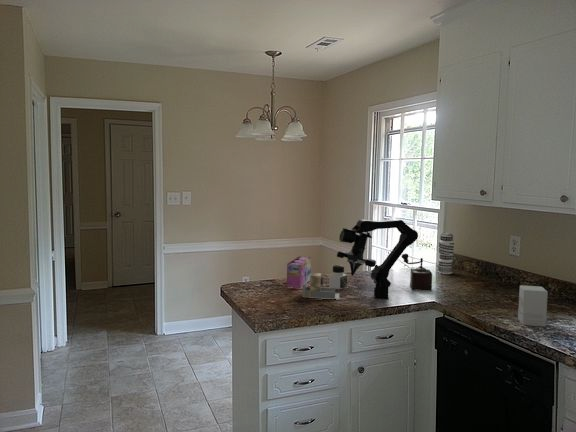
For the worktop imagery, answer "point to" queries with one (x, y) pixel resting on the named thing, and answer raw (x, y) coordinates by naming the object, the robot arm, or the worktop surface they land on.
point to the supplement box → (532, 305)
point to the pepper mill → (419, 276)
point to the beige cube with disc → (316, 282)
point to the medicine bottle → (338, 278)
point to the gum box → (298, 272)
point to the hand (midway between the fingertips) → (352, 275)
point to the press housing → (320, 292)
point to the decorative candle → (445, 253)
